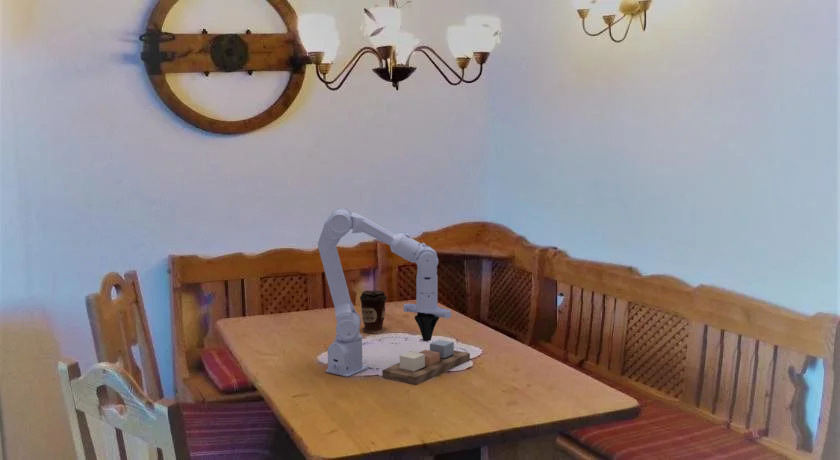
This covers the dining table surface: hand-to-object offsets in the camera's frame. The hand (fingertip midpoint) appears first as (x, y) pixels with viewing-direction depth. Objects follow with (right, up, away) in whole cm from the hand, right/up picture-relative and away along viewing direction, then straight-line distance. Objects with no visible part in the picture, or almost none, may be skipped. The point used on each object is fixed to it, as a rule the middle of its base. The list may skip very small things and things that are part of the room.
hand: (427, 340), depth 219 cm
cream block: (-4, -7, -5) cm, 9 cm away
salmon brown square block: (0, -7, +1) cm, 7 cm away
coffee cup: (-17, -3, +40) cm, 44 cm away
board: (0, -8, +1) cm, 8 cm away
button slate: (+4, -5, +6) cm, 9 cm away
